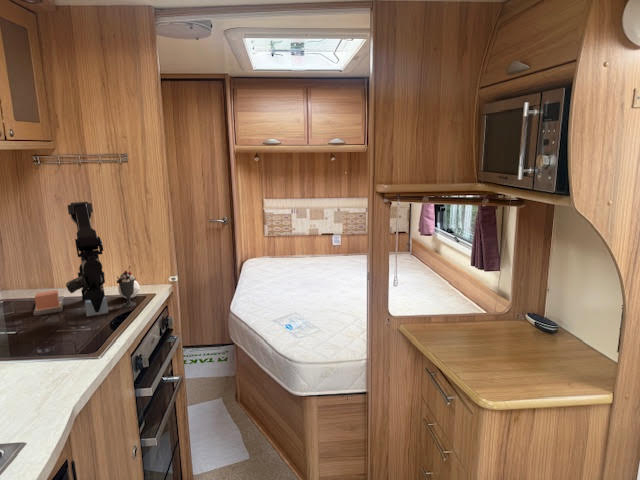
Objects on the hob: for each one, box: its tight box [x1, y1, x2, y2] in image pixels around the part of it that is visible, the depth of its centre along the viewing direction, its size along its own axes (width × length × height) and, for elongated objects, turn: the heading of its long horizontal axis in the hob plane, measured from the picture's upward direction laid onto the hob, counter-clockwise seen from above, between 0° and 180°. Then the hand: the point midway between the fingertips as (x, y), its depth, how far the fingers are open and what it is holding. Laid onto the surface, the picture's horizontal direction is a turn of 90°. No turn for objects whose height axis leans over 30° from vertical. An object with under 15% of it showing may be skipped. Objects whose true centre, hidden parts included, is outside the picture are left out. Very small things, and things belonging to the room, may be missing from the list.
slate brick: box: [84, 295, 109, 317], centre depth 162 cm, size 7×5×5 cm, turn 116°
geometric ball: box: [117, 280, 140, 299], centre depth 176 cm, size 8×8×8 cm
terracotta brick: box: [34, 289, 60, 310], centre depth 166 cm, size 7×5×5 cm, turn 117°
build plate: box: [33, 295, 65, 317], centre depth 169 cm, size 9×16×1 cm, turn 27°
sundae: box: [116, 265, 137, 309], centre depth 167 cm, size 7×7×15 cm
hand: (97, 309), depth 162 cm, fingers closed on slate brick, 5 cm apart
